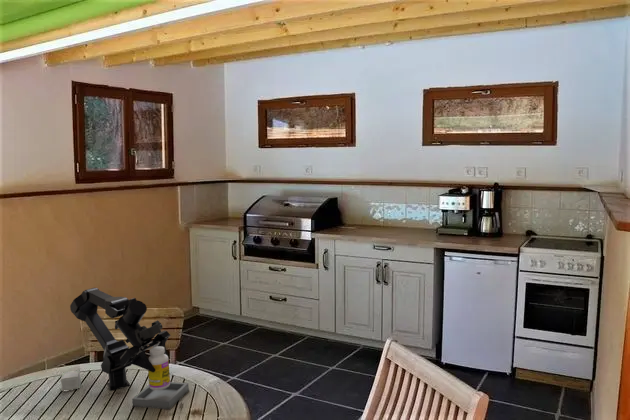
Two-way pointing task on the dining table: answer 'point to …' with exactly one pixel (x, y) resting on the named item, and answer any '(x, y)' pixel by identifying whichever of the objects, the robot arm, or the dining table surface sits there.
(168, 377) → the supplement bottle
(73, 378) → the small box
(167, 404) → the tray
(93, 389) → the dining table surface
